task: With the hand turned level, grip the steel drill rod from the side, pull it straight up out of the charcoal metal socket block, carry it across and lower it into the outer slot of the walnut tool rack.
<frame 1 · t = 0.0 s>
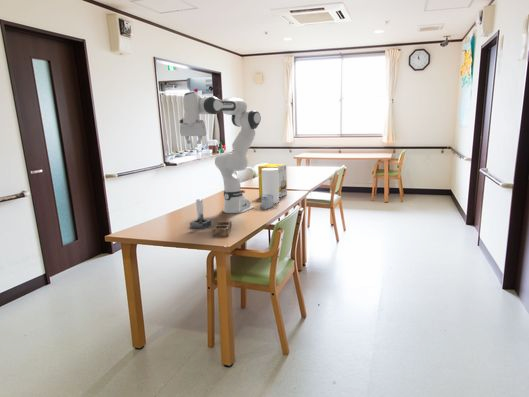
hand: (193, 143, 227), 48 cm above the table, tool pointing down, fingers open, 8 cm apart
socket block: (201, 226, 225), on the table
drill rod: (200, 213, 223), in the socket block
medicine box: (267, 207, 266), on the table
tool rack: (222, 234, 208), on the table
packaging box: (273, 196, 304), on the table
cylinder: (270, 202, 283), on the table
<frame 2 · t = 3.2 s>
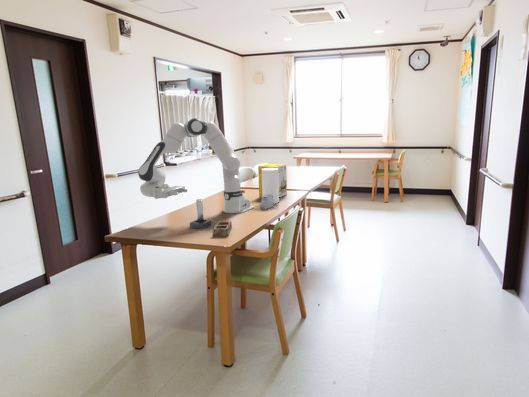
hand: (181, 192, 226), 20 cm above the table, tool horizontal, fingers open, 8 cm apart
nothing on the table moved.
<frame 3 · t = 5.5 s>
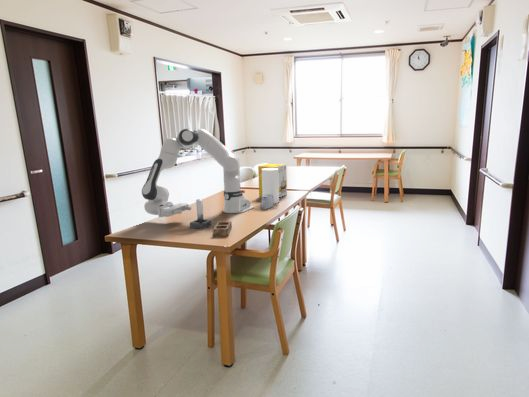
hand: (185, 210, 227), 9 cm above the table, tool horizontal, fingers open, 8 cm apart
nothing on the table moved.
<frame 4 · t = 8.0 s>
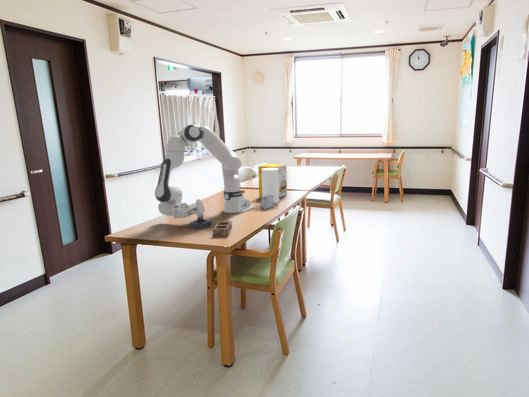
hand: (201, 211, 223), 9 cm above the table, tool horizontal, fingers closed on drill rod, 4 cm apart
drill rod: (200, 213, 223), in the socket block, touching gripper
everything else where it was.
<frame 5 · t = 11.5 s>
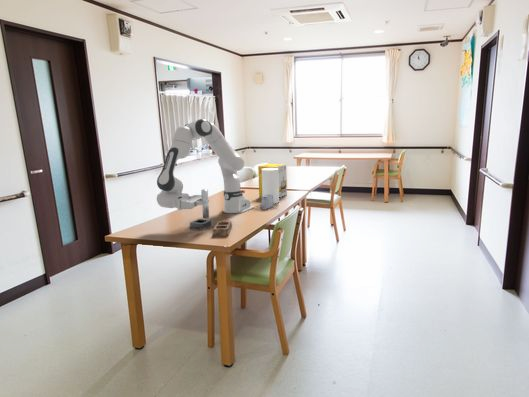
hand: (206, 202, 213), 16 cm above the table, tool horizontal, fingers closed on drill rod, 4 cm apart
drill rod: (205, 203, 214), point 15 cm above the table, touching gripper
everything else where it was.
when the fingers open (10 cm above the table, at t = 14.9 s): drill rod drops 1 cm, resting in tool rack.
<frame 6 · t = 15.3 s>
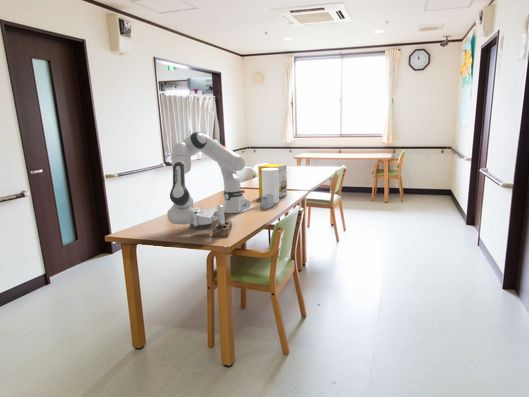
hand: (222, 215, 206), 10 cm above the table, tool horizontal, fingers open, 8 cm apart
drill rod: (221, 219, 206), in the tool rack
everything else where it was.
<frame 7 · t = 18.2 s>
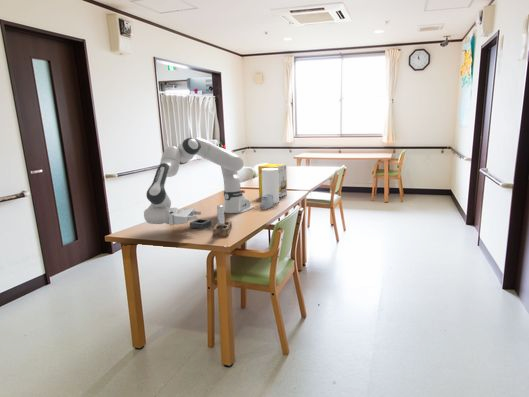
hand: (198, 215, 206), 11 cm above the table, tool horizontal, fingers open, 8 cm apart
nothing on the table moved.
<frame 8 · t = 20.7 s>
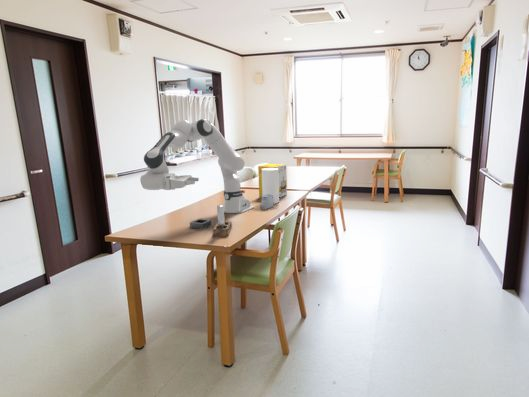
hand: (196, 180, 202), 30 cm above the table, tool horizontal, fingers open, 8 cm apart
nothing on the table moved.
at the end: drill rod 0.1 cm off-centre on the tool rack, point 8.0 cm above the tool rack's base; drill rod tilted 0°; the gripper is holding nothing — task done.
